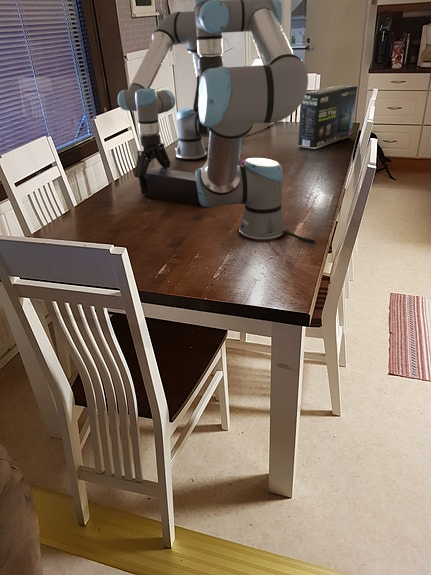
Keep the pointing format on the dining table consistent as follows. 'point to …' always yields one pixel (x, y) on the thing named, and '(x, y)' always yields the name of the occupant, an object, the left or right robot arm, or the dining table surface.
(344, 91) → the router box
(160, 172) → the box
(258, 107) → the right robot arm
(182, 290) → the dining table surface
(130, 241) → the dining table surface
